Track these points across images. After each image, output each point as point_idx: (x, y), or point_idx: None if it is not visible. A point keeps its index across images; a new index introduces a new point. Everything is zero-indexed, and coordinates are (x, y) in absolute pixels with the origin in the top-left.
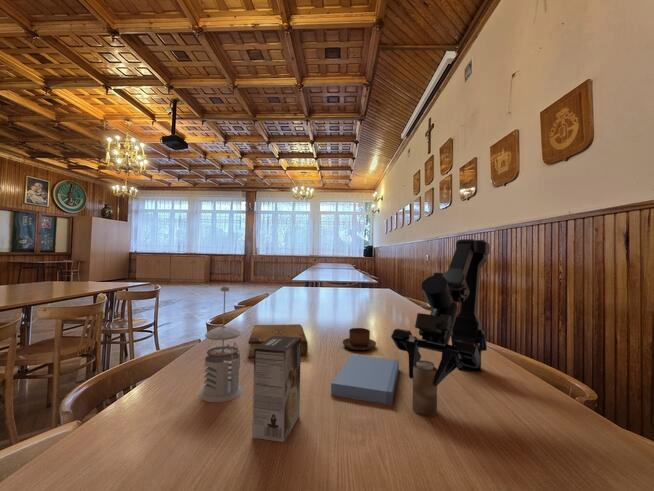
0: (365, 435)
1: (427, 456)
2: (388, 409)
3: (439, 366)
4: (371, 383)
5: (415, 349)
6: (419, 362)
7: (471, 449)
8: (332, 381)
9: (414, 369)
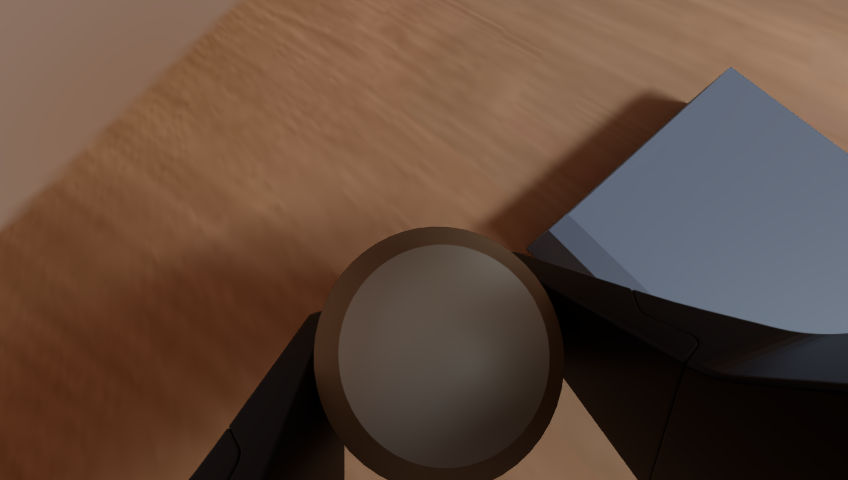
0: (415, 56)
1: (242, 125)
2: (504, 212)
3: (271, 427)
4: (675, 211)
5: (786, 445)
6: (500, 309)
7: (160, 267)
8: (745, 78)
9: (474, 234)
